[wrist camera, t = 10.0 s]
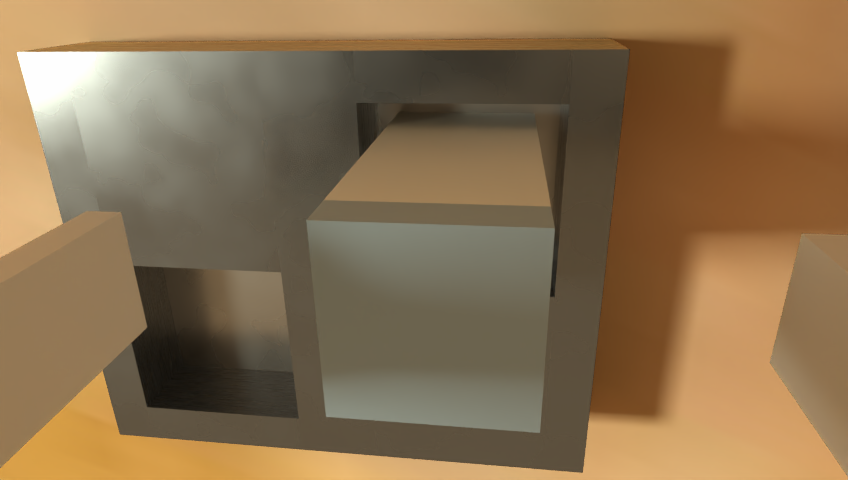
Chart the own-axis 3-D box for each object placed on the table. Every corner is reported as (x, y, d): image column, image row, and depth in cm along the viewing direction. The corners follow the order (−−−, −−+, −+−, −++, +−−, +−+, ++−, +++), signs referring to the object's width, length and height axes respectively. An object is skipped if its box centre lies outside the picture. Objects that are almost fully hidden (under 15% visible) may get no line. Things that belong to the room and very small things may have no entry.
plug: (403, 235, 20) (326, 416, 11) (398, 111, 18) (306, 219, 10) (527, 239, 19) (539, 432, 11) (534, 113, 18) (554, 228, 9)
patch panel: (164, 383, 24) (120, 434, 21) (88, 42, 19) (16, 52, 16) (573, 411, 22) (582, 472, 19) (610, 38, 17) (629, 49, 14)
